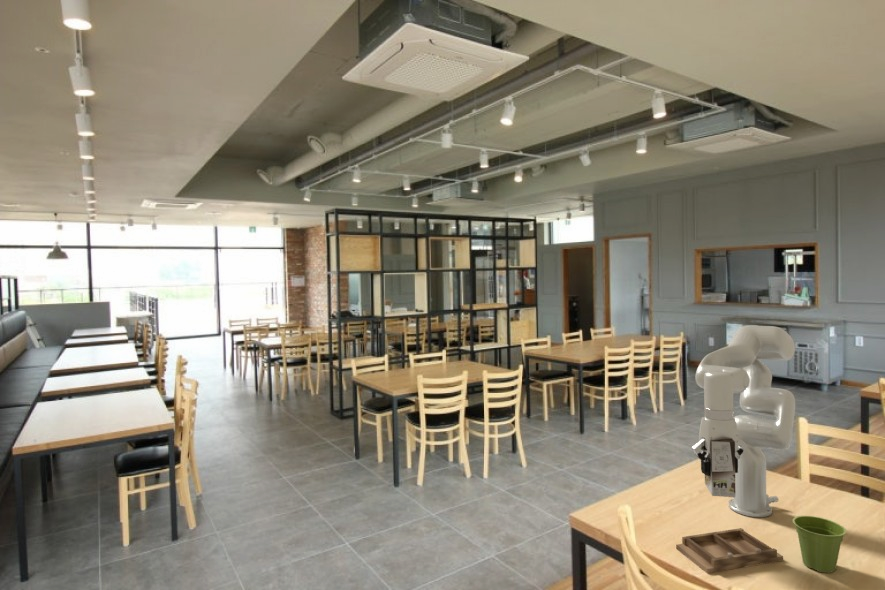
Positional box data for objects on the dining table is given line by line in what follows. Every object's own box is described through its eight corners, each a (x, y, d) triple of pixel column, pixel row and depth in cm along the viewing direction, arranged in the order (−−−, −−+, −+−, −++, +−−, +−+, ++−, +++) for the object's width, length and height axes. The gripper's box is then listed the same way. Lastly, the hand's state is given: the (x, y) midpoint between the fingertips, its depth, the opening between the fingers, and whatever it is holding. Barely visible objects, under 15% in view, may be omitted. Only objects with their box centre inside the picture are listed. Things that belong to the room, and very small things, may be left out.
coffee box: (736, 497, 149) (735, 441, 148) (711, 496, 150) (710, 440, 149) (727, 484, 158) (726, 431, 157) (704, 483, 159) (703, 431, 158)
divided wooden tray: (747, 537, 158) (746, 524, 158) (783, 560, 146) (783, 546, 145) (676, 548, 154) (676, 535, 153) (707, 573, 141) (707, 558, 141)
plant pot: (858, 574, 138) (858, 532, 138) (820, 581, 136) (820, 538, 135) (817, 551, 150) (817, 512, 149) (782, 557, 147) (782, 518, 147)
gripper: (736, 408, 158) (737, 465, 159) (683, 412, 155) (684, 470, 156) (755, 414, 150) (755, 474, 151) (699, 419, 148) (700, 480, 149)
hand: (719, 472), depth 154 cm, fingers closed on coffee box, 8 cm apart
